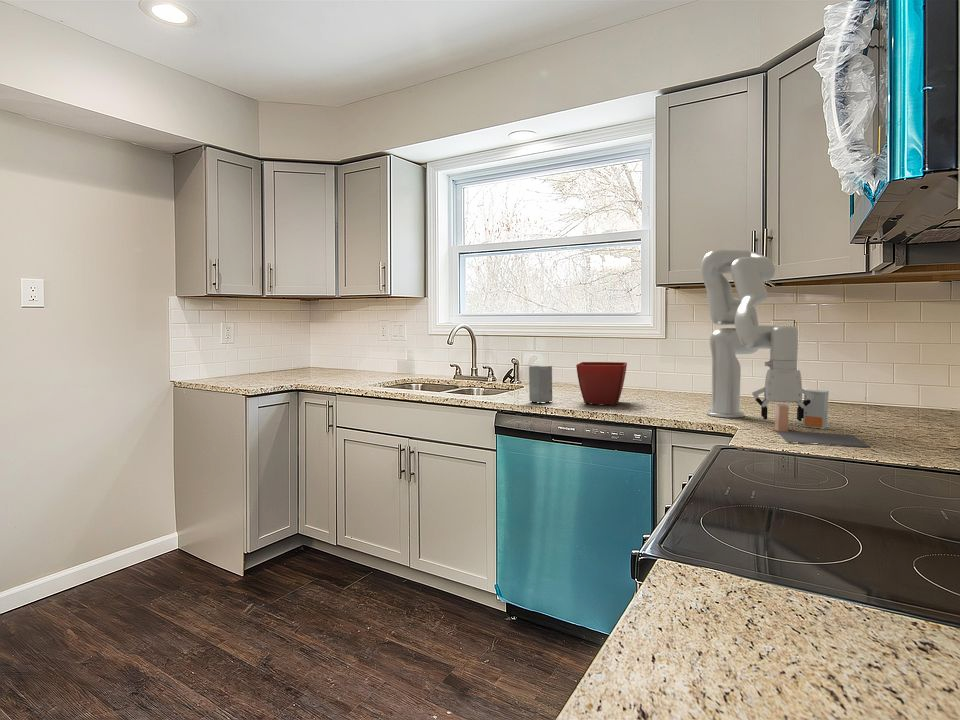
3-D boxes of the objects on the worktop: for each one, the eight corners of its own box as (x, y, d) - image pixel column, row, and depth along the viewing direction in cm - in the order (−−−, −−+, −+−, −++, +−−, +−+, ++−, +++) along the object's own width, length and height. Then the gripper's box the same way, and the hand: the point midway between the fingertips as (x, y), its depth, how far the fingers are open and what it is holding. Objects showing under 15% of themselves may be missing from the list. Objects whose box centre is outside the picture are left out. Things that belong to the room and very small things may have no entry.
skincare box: (802, 427, 182) (803, 390, 181) (806, 425, 185) (807, 389, 184) (823, 429, 177) (825, 392, 176) (827, 427, 180) (828, 390, 179)
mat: (777, 432, 174) (777, 431, 174) (851, 436, 167) (851, 434, 167) (787, 443, 158) (787, 441, 158) (870, 447, 152) (870, 446, 152)
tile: (774, 427, 181) (775, 402, 181) (783, 428, 181) (784, 403, 180) (778, 431, 175) (779, 406, 174) (787, 432, 174) (788, 406, 173)
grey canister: (540, 404, 234) (540, 366, 233) (527, 402, 239) (527, 365, 238) (553, 402, 239) (553, 365, 238) (540, 400, 245) (541, 364, 243)
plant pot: (581, 399, 248) (582, 361, 247) (626, 401, 242) (627, 362, 241) (575, 405, 230) (575, 364, 229) (623, 407, 224) (624, 365, 223)
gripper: (754, 366, 175) (753, 420, 176) (817, 366, 170) (816, 423, 171) (751, 364, 182) (750, 416, 183) (811, 365, 177) (810, 419, 178)
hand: (782, 419), depth 177 cm, fingers open, 9 cm apart
